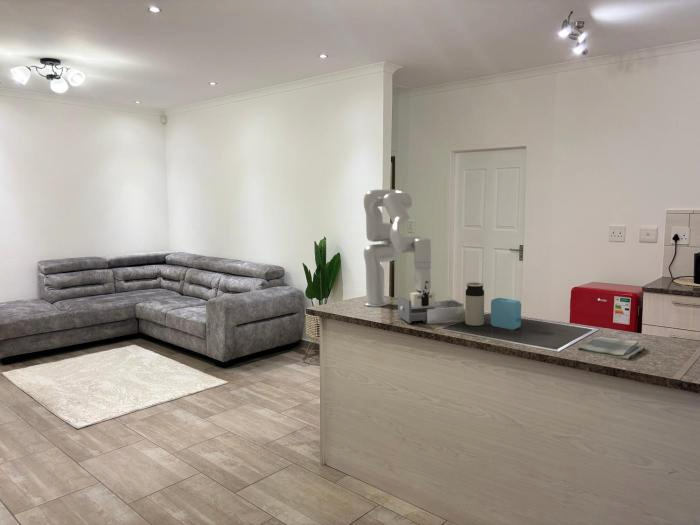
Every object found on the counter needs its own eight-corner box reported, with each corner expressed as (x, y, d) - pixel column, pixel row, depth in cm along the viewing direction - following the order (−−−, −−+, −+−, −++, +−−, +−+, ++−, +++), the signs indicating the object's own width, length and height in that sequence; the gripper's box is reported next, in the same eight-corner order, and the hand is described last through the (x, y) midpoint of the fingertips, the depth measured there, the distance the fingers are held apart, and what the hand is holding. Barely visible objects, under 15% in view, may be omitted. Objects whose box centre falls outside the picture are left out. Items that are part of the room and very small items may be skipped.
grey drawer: (395, 315, 250) (395, 294, 249) (432, 313, 254) (432, 292, 253) (406, 323, 235) (406, 300, 234) (445, 320, 240) (445, 298, 238)
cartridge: (410, 305, 245) (410, 292, 245) (430, 303, 248) (430, 291, 247) (414, 307, 241) (414, 294, 240) (435, 306, 243) (435, 293, 242)
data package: (520, 328, 227) (521, 300, 225) (515, 330, 224) (516, 302, 222) (495, 323, 236) (496, 297, 234) (490, 325, 233) (490, 298, 231)
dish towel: (576, 351, 196) (576, 343, 195) (595, 341, 208) (595, 333, 207) (630, 362, 182) (630, 353, 182) (647, 351, 195) (648, 342, 194)
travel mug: (471, 326, 231) (471, 285, 229) (461, 322, 239) (462, 283, 236) (487, 325, 234) (487, 284, 231) (477, 321, 241) (477, 281, 239)
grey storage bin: (414, 316, 253) (414, 299, 252) (448, 313, 257) (448, 297, 256) (427, 324, 237) (427, 306, 236) (463, 321, 241) (463, 303, 240)
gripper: (408, 263, 249) (408, 301, 252) (421, 267, 233) (421, 308, 235) (423, 262, 251) (423, 300, 253) (437, 267, 235) (437, 307, 237)
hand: (422, 304), depth 244 cm, fingers closed on cartridge, 5 cm apart
